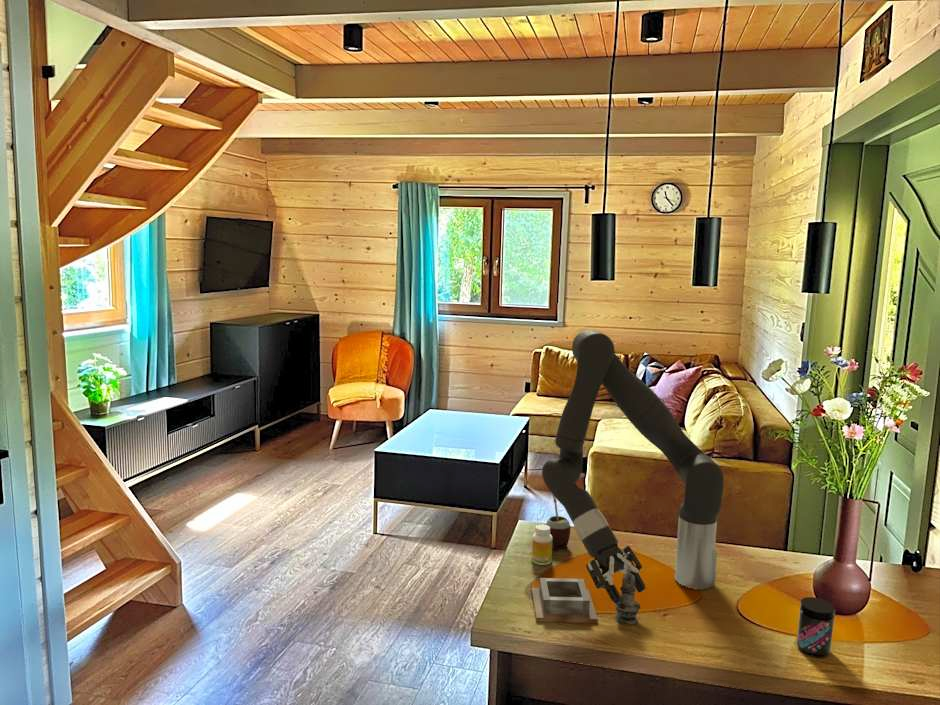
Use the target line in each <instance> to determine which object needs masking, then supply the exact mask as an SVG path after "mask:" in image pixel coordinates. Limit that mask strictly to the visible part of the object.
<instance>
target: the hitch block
mask: <svg viewBox="0 0 940 705" xmlns="http://www.w3.org/2000/svg"><path fill="white" fill-rule="evenodd" d="M531 595H532V596H531V597H532V604H533V609H534V610H533V611H534V616H535V622H536V623H537V622H538V623H579V624H580V623H583V624H598V623H599V622H598V621H599V618H598V615H597V611H596V609H595V605H594V603H593V600H592V597H591V593H590V590H589V588H587V586H586V584H585V580H584V578H560V577H559V578H557V577H555V578H549V577H540V578H539V587H531Z"/></svg>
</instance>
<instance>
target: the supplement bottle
mask: <svg viewBox="0 0 940 705" xmlns="http://www.w3.org/2000/svg"><path fill="white" fill-rule="evenodd" d="M534 531H535V532H534V533H533V535H532V541H531V542H532V543H531V562H533V563H534V564H535V565H540V566H545V565H550V564H551V563H552V559H553V550H552V548H553V546H552V540H553V538H552V535H551V534H550V527H549V526H548V525H546V524H543V523H541V524H536V525H535V530H534Z"/></svg>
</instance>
